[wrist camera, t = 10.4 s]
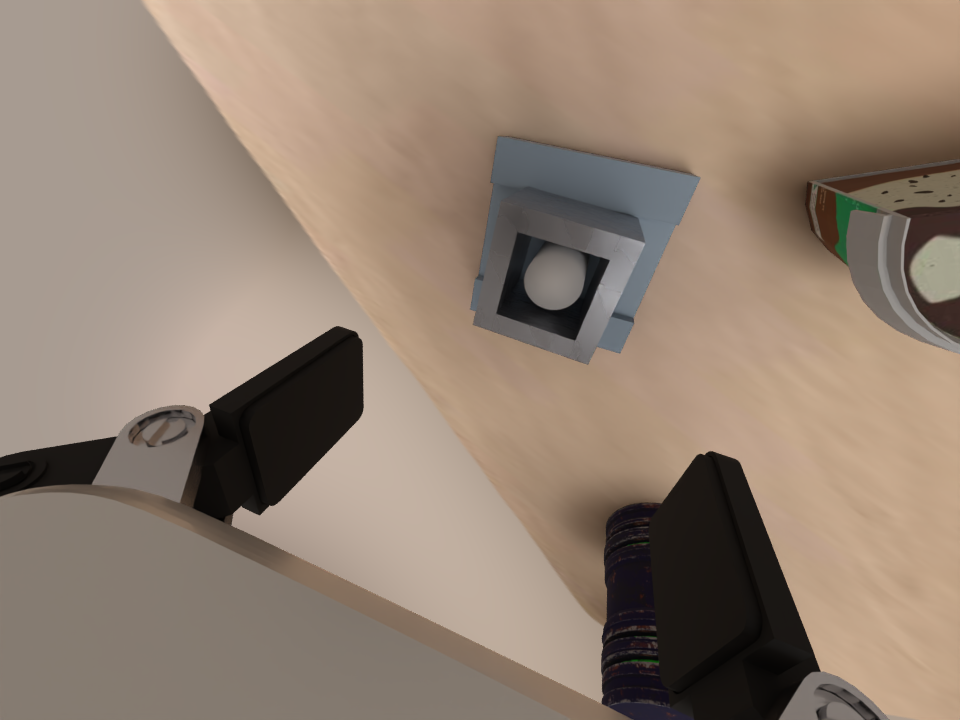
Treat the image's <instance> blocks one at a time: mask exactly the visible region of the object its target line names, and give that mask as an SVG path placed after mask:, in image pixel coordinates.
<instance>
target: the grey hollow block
mask: <svg viewBox="0 0 960 720" xmlns="http://www.w3.org/2000/svg"><path fill="white" fill-rule="evenodd" d="M532 237H536V238H539V239H542V240H546V241H549V242H552V243H555V244H559V245H562V246H565V247H569V248H572V249H575V250H579V251H582V252H585V253H588V254H592V255H595V256H598V257H601V258H600V260H599V263H598V265H597V268H596V270H595V272H594V275H593V277H592V280H591V282H590V285H589V287H588V289H587V292H586V294H585V297H584V299H582V298H578V299H577V300H576V301H575V302H574V303H573V304H571V305H570V306H568V307H566V308H563V309H559V310H549V309H545V308H542V307H540V306H538V305H537V304H535V303H534V302H533V301H532V300H531V299H530V298H529V296H528V294H527V292H526V290H525V286H524V280H523V279H520V277H521V273H522V270H523V266H524V263H525V259H526V256H527V252H528V249H529V245H530V242H531V238H532ZM644 245H645V239H644V236H643V232H642V229H641V225H640V222H639V218H637V217H634V216H630V215H627V214H623V213H620V212H616V211H613V210H609V209H606V208H602V207H599V206H595V205H592V204H588V203H584V202H581V201H577V200H574V199H570V198H567V197H563V196H560V195H556V194H553V193H549V192H546V191H542V190H539V189H535V188H531V187H528V186H527V187H525V188H523V189H521V190H519V191H518V192H516V193H514V194H512V195H510V196H509V197H507V198H505V199H503V200H501V202H500V207H499V211H498V216H497V220H496V225H495V229H494V234H493V238H492V242H491V247H490V251H489V256H488V260H487V265H486V269H485V274H484V278H483V283H482V287H481V292H480V296H479V301H478V305H477V309H476V314H475V318H474V323H473V325H475V326H478V327H481V328H484V329H487V330H490V331H492V332H495V333H498V334H501V335H504V336H507V337H510V338H513V339H515V340H518V341H521V342H524V343H527V344H530V345H533V346H536V347H538V348H541V349H544V350H547V351H550V352H553V353H556V354H558V355H561V356H564V357H567V358H570V359H573V360H576V361H579V362H581V363H584V364H587V365H588V364H589V362H590V360H591V358H592V355H593V353H594V351H595V349H596V347H597V345H598V343H599V341H600V339H601V336H602V334H603V332H604V330H605V328H606V326H607V324H608V322H609V319H610V317H611V315H612V313H613V311H614V309H615V307H616V305H617V303H618V300H619V298H620V296H621V294H622V292H623V290H624V288H625V286H626V284H627V281H628V279H629V277H630V275H631V273H632V271H633V269H634V267H635V265H636V262H637V260H638V258H639V256H640V254H641V252H642V250H643V248H644Z"/></svg>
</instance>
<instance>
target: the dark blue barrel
mask: <svg viewBox="0 0 960 720" xmlns="http://www.w3.org/2000/svg"><path fill="white" fill-rule="evenodd" d="M660 505H661V504H658V503H639V504H633V505H629V506H626V507H623V508H621V509H619V510H617V511H616V512H614V513H613V514H612V515H611V516H610V518H609V519H608V521H607V524H606V545H605V549H604V566H605V584H606V587H607V622H606V623H605V625H604V629H603V635H602V643H603V651H602V659H601V672H602V692H603V694H604V696H603V698H602V704H603V705H605V706H607V707H609V708H611V709H613V710H615V711H617V712H619V713H621V714H623V715H625V716H627V717H629V718H631V719H633V720H694V718H691V717H689V716H687V715H685V714H683V713H681V712H679V711H677V710H674V709H672V708H670V703H669V692H668V688H666V687H665V686H663V684H662V682H661V678H660V670H659V657H658V645H657V632H656V619H655V607H654V594H653V581H652V568H651V556H650V543H649V524H650V521H651V518H652V517H653V515H654V514H655V512H656V511H657V510H658V508H659V507H660Z"/></svg>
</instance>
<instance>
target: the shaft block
mask: <svg viewBox="0 0 960 720" xmlns="http://www.w3.org/2000/svg"><path fill="white" fill-rule="evenodd" d="M699 180H700V177H698V176H696V175H694V174H690V173H685V172H680V171H675V170H670V169H666V168H661V167H656V166H651V165H646V164H641V163H636V162H631V161H626V160H621V159H616V158H612V157H607V156H602V155H597V154H592V153H587V152H582V151H577V150H572V149H567V148H562V147H557V146H553V145H548V144H543V143H538V142H533V141H528V140H523V139H518V138H513V137H508V136H498V139H497V145H496V151H495V157H494V164H493V170H492V176H491V183H494V185H493V191H492V197H491V203H490V209H489V215H488V221H487V228H486V234H485V240H484V246H483V252H482V258H481V264H480V270H479V276H478V277H477V278H476V279H475V283H474V289H473V295H472V302H471V308H470V310H474V311H476V309H477V305H478V301H479V296H480V292H481V287H482V283H483V278H484V274H485V269H486V265H487V260H488V256H489V251H490V247H491V242H492V238H493V234H494V229H495V225H496V220H497V216H498V211H499V207H500V202H501V200H503V199H505V198H507V197H509V196H510V195H512V194H514V193H516V192H518V191H519V190H521V189H523V188H525V187H527V186H528V187H531V188H535V189H539V190H542V191H546V192H549V193H553V194H556V195H560V196H563V197H567V198H570V199H574V200H577V201H581V202H584V203H588V204H592V205H595V206H599V207H602V208H606V209H609V210H613V211H616V212H620V213H623V214H627V215H630V216H634V217H637V218H639V222H640V225H641V229H642V232H643V236H644V239H645V245H644V248H643V250H642V252H641V254H640V256H639V258H638V260H637V262H636V265H635V267H634V269H633V271H632V273H631V275H630V277H629V279H628V281H627V284H626V286H625V288H624V290H623V292H622V294H621V296H620V298H619V300H618V303H617V305H616V307H615V309H614V311H613V313H612V315H611V317H610V319H609V322H608V324H607V326H606V328H605V330H604V332H603V334H602V336H601V339H600V341H599V343H598V345H597V347H599V348H603V349H606V350H610V351H613V352H616V353H621V350H622V348H623V346H624V344H625V342H626V339H627V337H628V335H629V333H630V331H631V329H632V326H633V324H634V316H635V314H636V311H637V309H638V307H639V305H640V303H641V300H642V298H643V296H644V294H645V292H646V289H647V287H648V285H649V283H650V281H651V278H652V276H653V274H654V272H655V269H656V267H657V265H658V263H659V261H660V258H661V256H662V254H663V252H664V250H665V247H666V245H667V243H668V241H669V239H670V236H671V234H672V232H673V230H674V228H675V225H679V224H680V222H681V219H682V217H683V215H684V213H685V211H686V208H687V206H688V204H689V202H690V200H691V197H692V195H693V193H694V191H695V189H696V187H697V184H698V182H699ZM600 258H601V257H598V256H595V255H592V254H588V253H585V252H582V251H579V250H575V249H572V248H569V247H565V246H562V245H559V244H555V243H552V242H549V241H546V240H542V239H539V238H536V237H532V238H531V242H530V245H529V249H528V252H527V256H526V259H525V263H524V266H523V270H522V273H521V277H520V279H523V280H524V286H525V290H526V292H527V294H528V296H529V298H530V299H531V300H532V301H533V302H534V303H535V304H537V305H538V306H540V307H542V308H545V309H549V310H559V309H563V308H566V307H568V306H570V305H571V304H573V303H574V302H575V301H576V300H577V299H578V298H582V299H584V297H585V294H586V292H587V289H588V287H589V285H590V282H591V280H592V277H593V275H594V272H595V270H596V268H597V265H598V263H599V260H600Z"/></svg>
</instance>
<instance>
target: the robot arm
mask: <svg viewBox="0 0 960 720" xmlns="http://www.w3.org/2000/svg"><path fill="white" fill-rule="evenodd" d="M209 406H210V410H211V411H210V412H208V413H206V414H205V415H203V414H202V412H201V411H200V410H198V409H196V408H194V407H190V406H185V405H174V406H167V407H161V408H157V409H155V410H151V411H148V412H146V413H144V414H142V415H140V416H138V417H136V418H134V419H133V420H132V421H130V422H129V423H128V424H126V425H125V427H124V428H123V429H122V430H121V431H120V433H119V435H118V436H117V437H111V438H105V439H98V440H92V441H86V442H80V443H74V444H68V445H61V446H55V447H49V448H43V449H37V450H30V451H24V452H19V453H15V454H11V455H6V456H4V457H1V458H0V720H633V719H631V718H629V717H627V716H625V715H623V714H621V713H619V712H617V711H615V710H613V709H611V708H609V707H607V706H605V705H603V704H601V703H599V702H597V701H595V700H592V699H591V698H588V697H586V696H584V695H582V694H580V693H578V692H576V691H574V690H572V689H570V688H568V687H566V686H564V685H562V684H560V683H558V682H556V681H554V680H552V679H549V678H547V677H545V676H543V675H541V674H539V673H537V672H535V671H533V670H531V669H529V668H527V667H525V666H523V665H521V664H519V663H516V662H515V661H513V660H510V659H508V658H506V657H504V656H502V655H500V654H498V653H496V652H494V651H492V650H490V649H488V648H486V647H484V646H482V645H480V644H478V643H476V642H473V641H472V640H469V639H467V638H465V637H463V636H461V635H459V634H457V633H455V632H453V631H451V630H449V629H447V628H444V627H443V626H441V625H438V624H436V623H434V622H432V621H430V620H428V619H426V618H424V617H422V616H420V615H418V614H416V613H414V612H412V611H409V610H407V609H405V608H403V607H401V606H399V605H397V604H395V603H393V602H391V601H389V600H386V599H384V598H382V597H380V596H378V595H376V594H374V593H372V592H370V591H368V590H366V589H364V588H362V587H360V586H357V585H355V584H353V583H351V582H349V581H347V580H345V579H343V578H341V577H339V576H337V575H334V574H332V573H330V572H328V571H326V570H324V569H322V568H320V567H318V566H316V565H313V564H311V563H309V562H307V561H305V560H303V559H301V558H299V557H297V556H295V555H292V554H290V553H288V552H286V551H284V550H282V549H279V548H278V547H275V546H273V545H271V544H269V543H267V542H265V541H263V540H261V539H259V538H257V537H255V536H252V535H250V534H248V533H246V532H244V531H242V530H239V529H237V528H235V527H233V526H231V525H232V519H233V513H234V512H235V511H236V510H237V509H238V508H239V507H240V506H242V507H243V508H245V509H247V510H249V511H251V512H253V513H255V514H258V515H261V514H262V513H263V511H265V509H266V508H268V507H269V505H270V506H274V505H276V504H277V503H278V502H279V501H281V499H282V498H283V497H284V496H285V495H286V494H287V493H288V492H289V491H290V490H291V489H292V488H293V487H294V486H295V485H296V484H297V483H298V482H299V481H300V480H301V479H302V478H303V477H304V476H305V475H306V473H307V472H308V471H309V470H310V469H311V468H312V467H313V466H314V465H315V464H316V463H317V462H318V461H319V460H320V459H321V458H322V457H323V456H324V455H325V454H326V453H327V452H328V451H329V450H330V449H331V448H332V447H333V446H334V445H335V444H336V443H337V442H338V440H339V439H340V438H341V437H342V436H343V435H344V434H345V433H346V432H347V431H348V430H349V429H350V428H351V427H352V426H353V425H354V424H355V423H356V422H357V421H358V420H359V418H360V417H361V415H362V412H363V408H364V404H363V344H362V340H361V339H360V338H359V337H358V334H357V333H356V332H355V331H352V330H349V329H346V328H343V327H339V326H336V327H334V328H332V329H330V330H329V331H327V332H325V333H324V334H322V335H321V336H319V337H317V338H316V339H314V340H313V341H311V342H309V343H308V344H306V345H305V346H303V347H301V348H300V349H298V350H297V351H295V352H293V353H292V354H290V355H288V356H287V357H285V358H284V359H282V360H281V361H279V362H277V363H276V364H274V365H272V366H271V367H269V368H268V369H266V370H264V371H263V372H261V373H259V374H258V375H256V376H255V377H253V378H251V379H250V380H248V381H247V382H245V383H243V384H242V385H240V386H238V387H237V388H235V389H234V390H232V391H231V392H229V393H227V394H226V395H224V396H222V397H221V398H220V399H218V400H216V401H214V402H213V403H211V404H210V405H209ZM649 543H650V556H651V568H652V581H653V594H654V607H655V619H656V632H657V645H658V657H659V670H660V678H661V682H662V684H663V686H665V687H666V688H668V692H669V703H670V708H672V709H674V710H677V711H679V712H681V713H683V714H685V715H687V716H689V717H691V718H694V720H889V719H888V718H887V717H886V715H885V714H884V713H883V712H882V711H881V710H880V709H879V708H878V707H877V706H876V705H875V704H874V703H873V702H872V701H871V700H870V699H869V698H868V697H866V696H865V695H864V694H863V693H862V692H860V691H859V690H858V689H857V688H856V687H854V686H853V685H851V684H849V683H848V682H846V681H844V680H843V679H841V678H840V677H838V676H835V675H832V674H829V673H826V672H821V671H820V668H819V666H818V663H817V661H816V658H815V655H814V652H813V649H812V647H811V644H810V642H809V639H808V637H807V634H806V631H805V629H804V626H803V624H802V621H801V619H800V616H799V613H798V611H797V608H796V606H795V603H794V601H793V598H792V595H791V593H790V590H789V588H788V585H787V583H786V580H785V577H784V575H783V572H782V570H781V567H780V565H779V562H778V559H777V557H776V554H775V552H774V549H773V547H772V544H771V541H770V539H769V536H768V534H767V531H766V528H765V526H764V523H763V521H762V518H761V516H760V513H759V510H758V508H757V505H756V503H755V500H754V498H753V495H752V492H751V490H750V487H749V485H748V482H747V480H746V477H745V474H744V472H743V469H742V467H741V464H740V463H739V461H738V460H736V459H733V458H730V457H727V456H724V455H722V454H719V453H716V452H713V451H709V452H708V453H706V454H705V455H703V454H699V455H697V456H696V457H695V459H694V460H693V461H692V463H691V464H690V465H689V467H688V468H687V470H686V471H685V472H684V474H683V475H682V477H681V478H680V479H679V481H678V482H677V483H676V485H675V486H674V488H673V489H672V490H671V492H670V493H669V494H668V496H667V497H666V499H665V500H664V501H663V503H662V504H661V505H660V507H659V508H658V510H657V511H656V512H655V514H654V515H653V517H652V518H651V521H650V524H649Z"/></svg>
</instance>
